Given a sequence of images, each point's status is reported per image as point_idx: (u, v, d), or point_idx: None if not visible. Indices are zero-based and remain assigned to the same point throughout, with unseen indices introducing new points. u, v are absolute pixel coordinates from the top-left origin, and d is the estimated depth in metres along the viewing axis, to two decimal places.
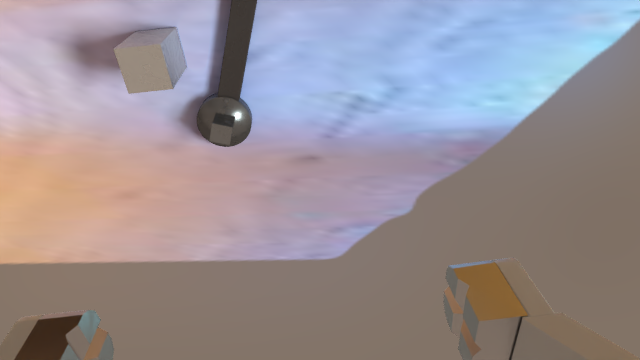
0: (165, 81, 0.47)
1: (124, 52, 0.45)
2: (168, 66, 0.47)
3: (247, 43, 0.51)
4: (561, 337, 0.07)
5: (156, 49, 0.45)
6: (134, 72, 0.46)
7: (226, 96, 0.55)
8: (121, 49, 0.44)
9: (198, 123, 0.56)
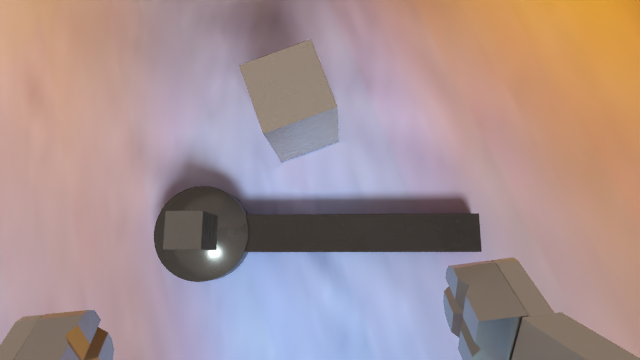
0: (274, 120, 0.27)
1: (308, 55, 0.27)
2: (299, 124, 0.27)
3: (346, 248, 0.31)
4: (561, 337, 0.07)
5: (326, 101, 0.27)
6: (278, 72, 0.27)
7: (249, 229, 0.32)
8: (313, 50, 0.27)
9: (191, 189, 0.32)
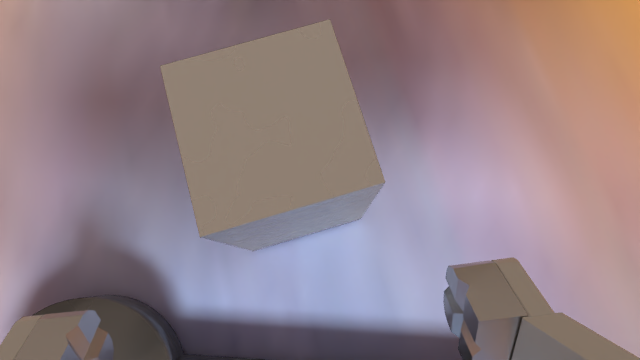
0: (229, 205, 0.11)
1: (322, 55, 0.12)
2: (290, 215, 0.12)
3: None
4: (561, 337, 0.07)
5: (360, 168, 0.11)
6: (250, 89, 0.12)
7: None
8: (333, 45, 0.12)
9: (69, 303, 0.16)
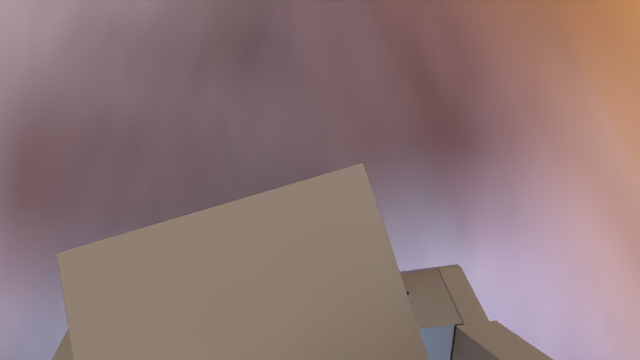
0: None
1: (351, 232, 0.07)
2: None
3: None
4: (491, 346, 0.07)
5: None
6: (219, 300, 0.06)
7: None
8: (370, 213, 0.07)
9: None
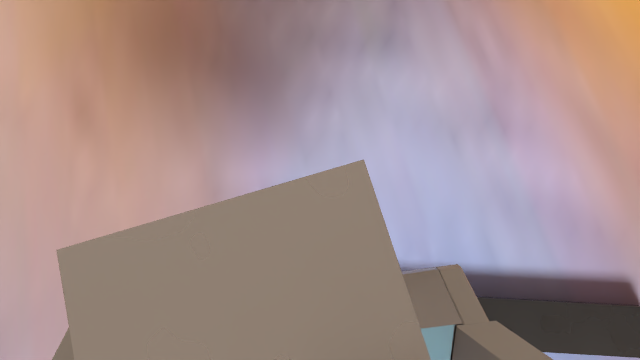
0: None
1: (352, 229, 0.06)
2: None
3: None
4: (491, 346, 0.07)
5: None
6: (219, 297, 0.06)
7: None
8: (371, 210, 0.07)
9: None
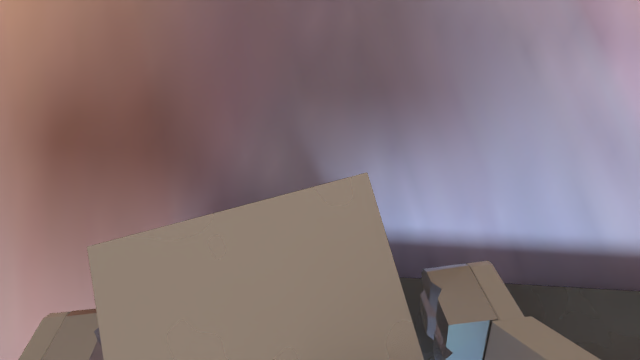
0: None
1: (354, 236, 0.07)
2: None
3: None
4: (529, 341, 0.07)
5: None
6: (233, 293, 0.07)
7: None
8: (372, 219, 0.07)
9: None
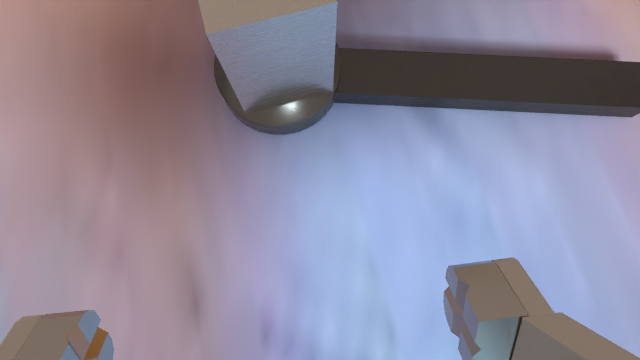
0: (227, 14, 0.15)
1: None
2: (270, 30, 0.16)
3: (471, 96, 0.24)
4: (561, 337, 0.07)
5: None
6: None
7: (342, 65, 0.24)
8: None
9: None
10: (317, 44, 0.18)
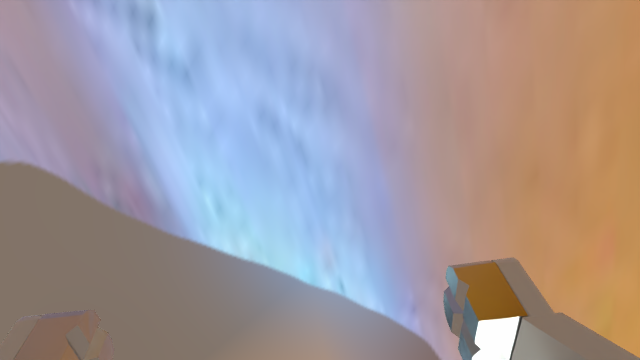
0: None
1: None
2: None
3: None
4: (561, 337, 0.07)
5: None
6: None
7: None
8: None
9: None
10: None
